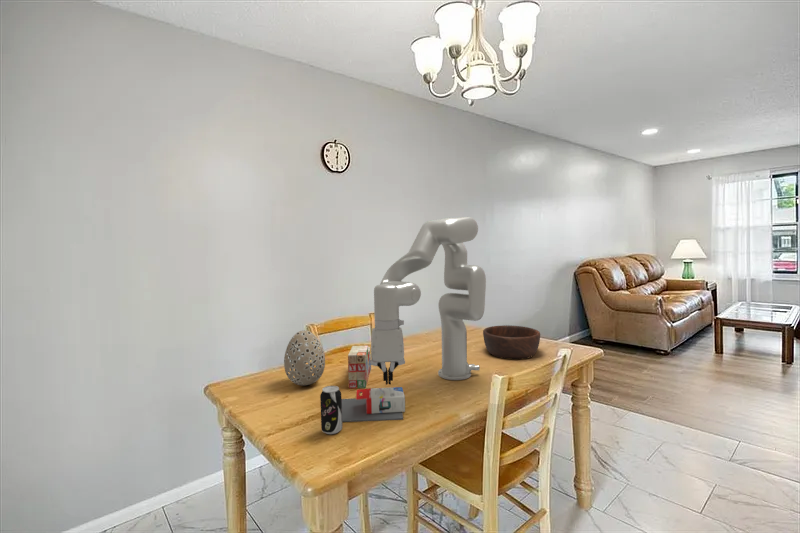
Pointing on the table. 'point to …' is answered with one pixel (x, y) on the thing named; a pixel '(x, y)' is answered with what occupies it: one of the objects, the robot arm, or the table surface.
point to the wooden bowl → (511, 341)
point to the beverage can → (331, 410)
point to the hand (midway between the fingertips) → (388, 383)
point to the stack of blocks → (359, 366)
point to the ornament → (304, 358)
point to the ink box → (383, 399)
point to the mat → (364, 412)
